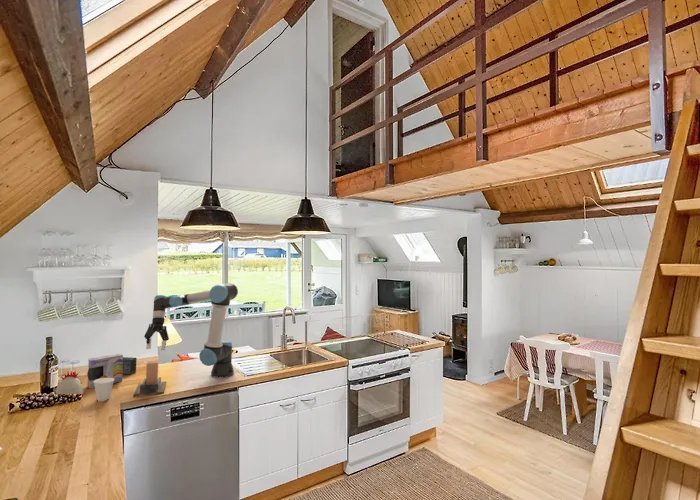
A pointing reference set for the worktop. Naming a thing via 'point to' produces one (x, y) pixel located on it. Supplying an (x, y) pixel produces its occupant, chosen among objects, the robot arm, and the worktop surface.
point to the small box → (129, 366)
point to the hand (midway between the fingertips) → (155, 349)
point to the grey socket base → (150, 388)
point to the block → (152, 372)
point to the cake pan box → (105, 368)
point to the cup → (103, 388)
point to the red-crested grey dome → (70, 385)
